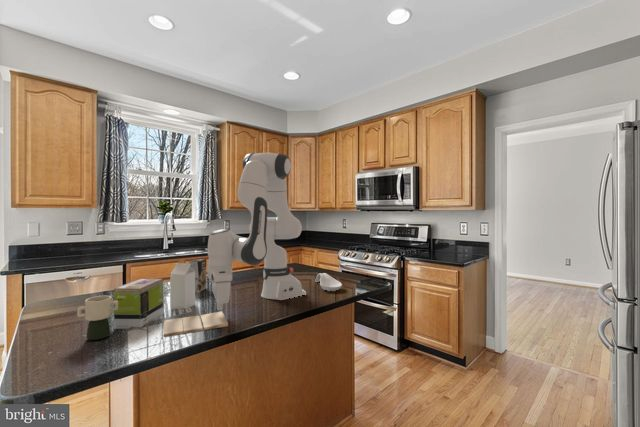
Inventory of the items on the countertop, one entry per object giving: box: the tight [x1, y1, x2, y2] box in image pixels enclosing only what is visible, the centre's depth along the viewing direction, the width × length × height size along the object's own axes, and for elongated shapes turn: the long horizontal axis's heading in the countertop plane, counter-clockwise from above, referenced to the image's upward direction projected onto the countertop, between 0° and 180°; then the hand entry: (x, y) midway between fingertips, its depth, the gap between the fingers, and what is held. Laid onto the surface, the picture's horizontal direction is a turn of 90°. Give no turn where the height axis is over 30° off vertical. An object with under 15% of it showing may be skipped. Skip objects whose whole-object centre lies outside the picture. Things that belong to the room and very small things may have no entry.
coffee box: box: [187, 258, 207, 294], centre depth 158 cm, size 9×6×16 cm
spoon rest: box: [314, 272, 343, 292], centre depth 166 cm, size 24×12×7 cm, turn 23°
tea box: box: [113, 278, 165, 330], centre depth 113 cm, size 15×10×15 cm, turn 178°
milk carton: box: [169, 262, 196, 310], centre depth 130 cm, size 7×7×19 cm
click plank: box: [199, 310, 229, 331], centre depth 111 cm, size 8×14×2 cm, turn 27°
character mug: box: [76, 295, 118, 341], centre depth 98 cm, size 11×7×13 cm, turn 135°
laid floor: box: [163, 315, 203, 337], centre depth 107 cm, size 12×14×2 cm
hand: (219, 309), depth 113 cm, fingers closed
